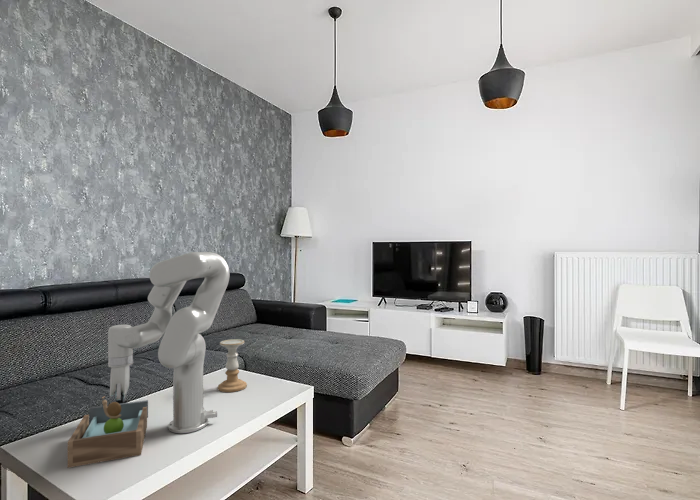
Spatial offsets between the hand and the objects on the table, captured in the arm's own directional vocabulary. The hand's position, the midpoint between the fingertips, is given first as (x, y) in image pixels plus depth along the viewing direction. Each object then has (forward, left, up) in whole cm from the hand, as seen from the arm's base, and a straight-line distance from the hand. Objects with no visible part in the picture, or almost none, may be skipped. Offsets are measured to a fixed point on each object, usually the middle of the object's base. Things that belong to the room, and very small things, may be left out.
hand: (121, 412), depth 141 cm
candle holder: (-40, -21, -3) cm, 45 cm away
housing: (0, +19, -3) cm, 19 cm away
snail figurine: (0, +16, -1) cm, 17 cm away
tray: (0, +12, -2) cm, 12 cm away
